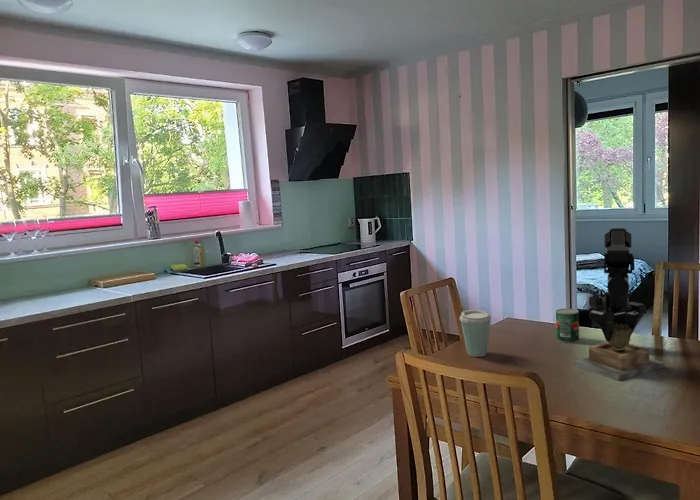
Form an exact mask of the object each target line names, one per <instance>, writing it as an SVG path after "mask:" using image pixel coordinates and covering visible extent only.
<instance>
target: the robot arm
mask: <svg viewBox="0 0 700 500" xmlns="http://www.w3.org/2000/svg"><path fill="white" fill-rule="evenodd" d="M632 237H633V236H632V233H630V232H629V231H627V228H624V227H617V228H616V227H614V228H610V229H609V231H608V232H606V233H604V249H606V252H603V253H604V256H603V257H604V258H603V263H604V265H603V266H604V267H603V269H604V270H603V274H607V291H606V292H604V294H603V296H602V297H599V296H597V295H593V296H590V297H588V304H589V306H590V307H591V308H593V309H592V310H590V311H589V320H592V321H593V322H594V323H595V322H596V324H598V325H599V326H600V329H601V332H602V334H603V336H604V339H605V341H606V342H609V341H610V339H611V336H612V332H613V328H614V324H615V325H616V324H618V325H619V326H620V325H621V324H622V325H623V326H624V325H625V324H627V325H628V326H630V328H631V327H632V329H631V336H632V335H633V332H634V331H635V329H636V327H637V325H638V324H639V323H640V320H641V319H642V318H643V317H644V316H645V314H647V313H648V312H647V311H648V310H647V306H646V305H645V304H644V303H641V302H636V301H629V298H630V297H633V296H632V295H633V294H632V293H633V292H632V293H631V292H629V290H630V283H629V276H630V274H631V275H633V271H635V256H634V255H633V253H632V252H630V249H632V240H633V239H632Z"/></svg>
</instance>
